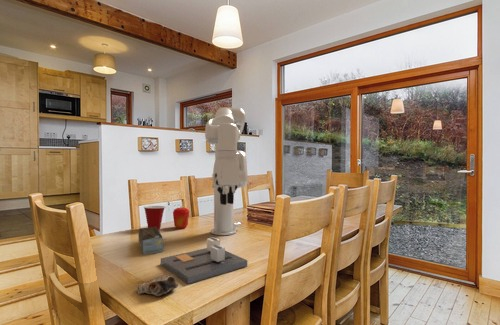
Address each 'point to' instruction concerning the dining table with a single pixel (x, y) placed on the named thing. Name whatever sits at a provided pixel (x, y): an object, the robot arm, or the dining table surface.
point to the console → (201, 265)
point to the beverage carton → (150, 240)
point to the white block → (217, 253)
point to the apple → (180, 217)
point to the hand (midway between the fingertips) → (226, 203)
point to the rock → (158, 285)
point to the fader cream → (212, 242)
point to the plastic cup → (154, 215)
